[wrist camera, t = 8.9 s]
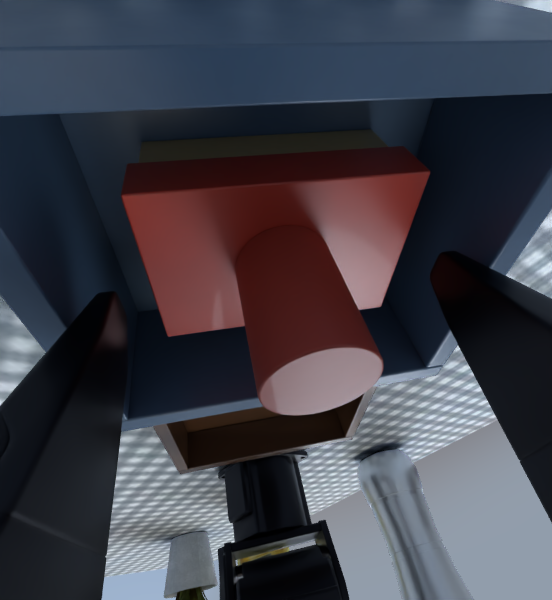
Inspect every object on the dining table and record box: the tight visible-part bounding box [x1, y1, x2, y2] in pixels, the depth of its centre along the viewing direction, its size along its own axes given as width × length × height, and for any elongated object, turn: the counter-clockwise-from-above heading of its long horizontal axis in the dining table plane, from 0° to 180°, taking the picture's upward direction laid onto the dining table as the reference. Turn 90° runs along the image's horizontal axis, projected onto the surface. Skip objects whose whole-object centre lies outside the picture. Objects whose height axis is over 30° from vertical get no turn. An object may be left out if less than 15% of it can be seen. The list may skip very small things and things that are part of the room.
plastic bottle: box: [357, 450, 474, 600], centre depth 33 cm, size 6×7×20 cm
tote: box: [0, 0, 552, 432], centre depth 11 cm, size 11×13×6 cm
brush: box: [121, 129, 430, 415], centre depth 10 cm, size 8×5×7 cm
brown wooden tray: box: [153, 386, 377, 474], centre depth 22 cm, size 10×12×3 cm
